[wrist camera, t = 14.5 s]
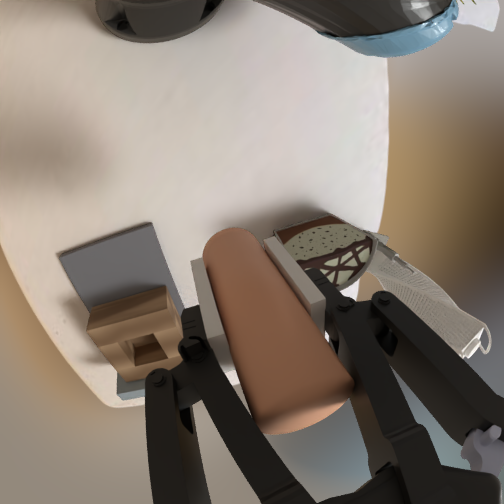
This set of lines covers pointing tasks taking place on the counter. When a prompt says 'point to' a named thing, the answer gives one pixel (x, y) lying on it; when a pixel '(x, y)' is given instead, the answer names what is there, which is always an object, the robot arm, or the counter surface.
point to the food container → (329, 248)
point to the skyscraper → (427, 300)
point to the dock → (120, 277)
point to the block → (138, 333)
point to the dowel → (272, 338)
